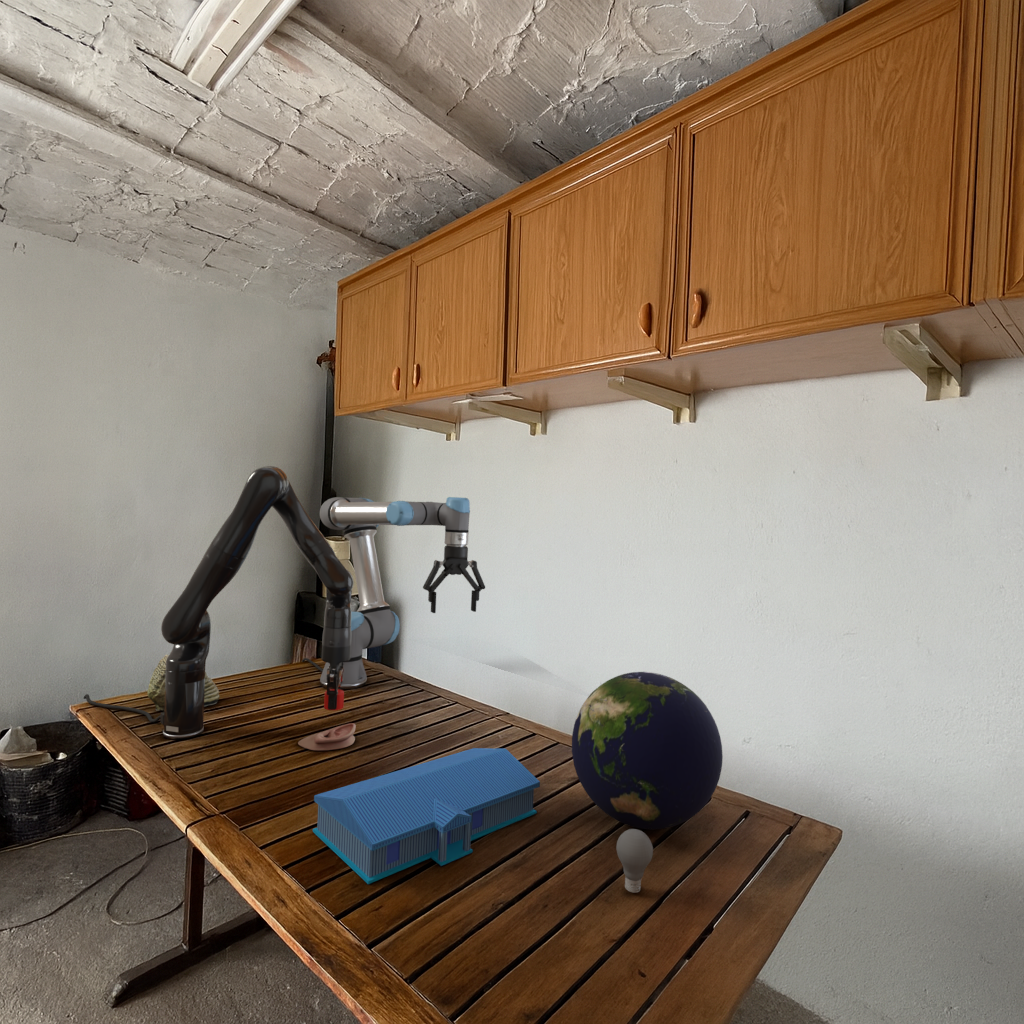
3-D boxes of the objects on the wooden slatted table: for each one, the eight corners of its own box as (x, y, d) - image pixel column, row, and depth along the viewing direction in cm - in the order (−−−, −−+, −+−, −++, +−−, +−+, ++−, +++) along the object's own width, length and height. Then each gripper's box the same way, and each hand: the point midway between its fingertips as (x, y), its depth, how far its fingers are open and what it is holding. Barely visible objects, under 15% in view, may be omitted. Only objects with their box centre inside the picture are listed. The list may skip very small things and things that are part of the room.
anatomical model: (291, 731, 158) (315, 716, 169) (291, 747, 158) (314, 731, 169) (341, 738, 155) (361, 722, 167) (340, 754, 155) (360, 737, 167)
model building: (378, 893, 102) (380, 832, 102) (311, 830, 120) (313, 778, 120) (548, 819, 128) (550, 770, 128) (472, 776, 146) (474, 733, 146)
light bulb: (610, 879, 108) (613, 822, 108) (644, 879, 109) (647, 822, 109) (619, 902, 102) (622, 840, 102) (655, 901, 103) (658, 840, 103)
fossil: (144, 707, 182) (145, 655, 182) (212, 696, 194) (213, 647, 194) (151, 716, 175) (153, 662, 175) (221, 703, 188) (223, 653, 188)
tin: (331, 711, 167) (332, 696, 167) (320, 707, 170) (320, 691, 170) (347, 707, 171) (348, 692, 171) (336, 703, 174) (336, 687, 174)
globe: (548, 837, 121) (555, 681, 121) (589, 777, 149) (595, 650, 148) (711, 879, 110) (720, 707, 109) (723, 805, 138) (730, 668, 137)
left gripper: (347, 649, 163) (344, 714, 164) (354, 637, 178) (351, 697, 178) (317, 648, 162) (314, 714, 163) (326, 636, 177) (323, 697, 177)
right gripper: (421, 546, 194) (418, 615, 194) (496, 546, 204) (493, 612, 204) (415, 544, 201) (412, 610, 201) (488, 544, 211) (485, 608, 211)
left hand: (333, 705), depth 170 cm, fingers closed on tin, 5 cm apart
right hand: (453, 611), depth 203 cm, fingers open, 13 cm apart
